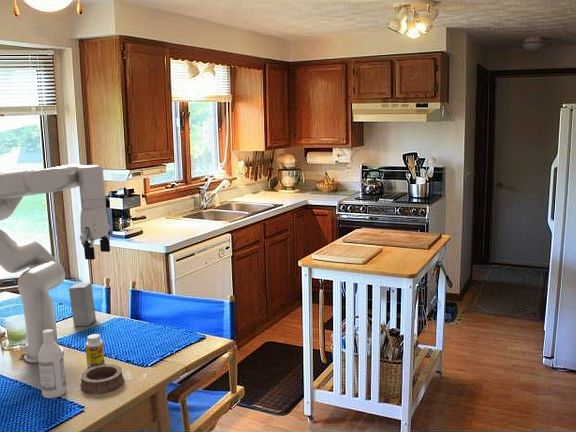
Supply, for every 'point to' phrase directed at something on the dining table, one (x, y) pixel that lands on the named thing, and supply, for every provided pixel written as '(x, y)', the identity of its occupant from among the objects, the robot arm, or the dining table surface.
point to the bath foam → (51, 367)
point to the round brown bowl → (101, 379)
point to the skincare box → (82, 304)
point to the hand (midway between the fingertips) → (97, 255)
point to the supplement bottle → (94, 351)
